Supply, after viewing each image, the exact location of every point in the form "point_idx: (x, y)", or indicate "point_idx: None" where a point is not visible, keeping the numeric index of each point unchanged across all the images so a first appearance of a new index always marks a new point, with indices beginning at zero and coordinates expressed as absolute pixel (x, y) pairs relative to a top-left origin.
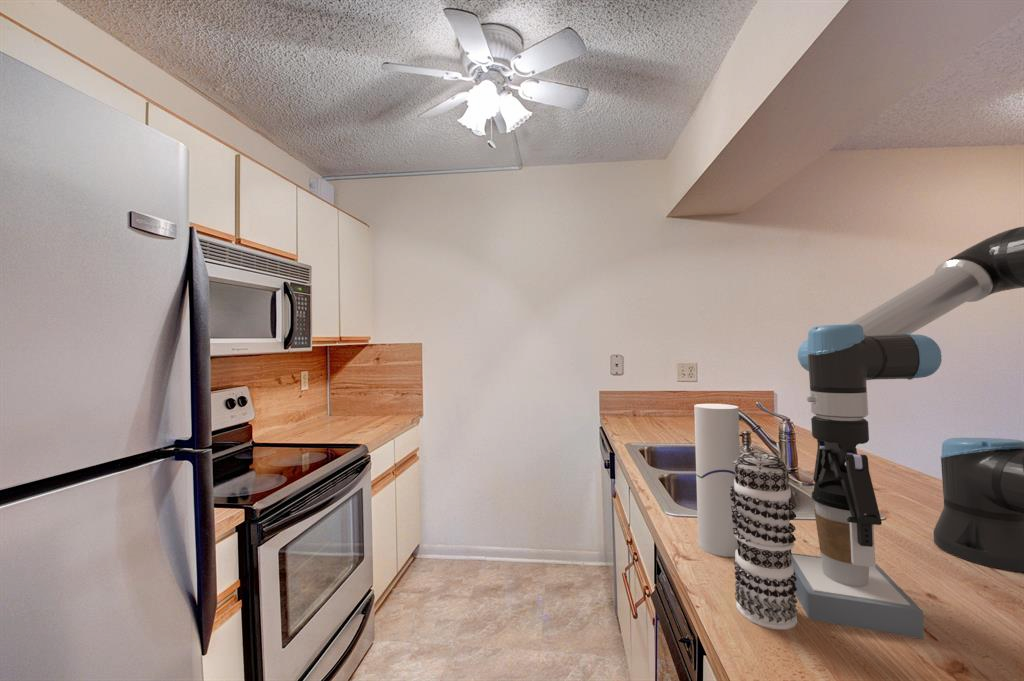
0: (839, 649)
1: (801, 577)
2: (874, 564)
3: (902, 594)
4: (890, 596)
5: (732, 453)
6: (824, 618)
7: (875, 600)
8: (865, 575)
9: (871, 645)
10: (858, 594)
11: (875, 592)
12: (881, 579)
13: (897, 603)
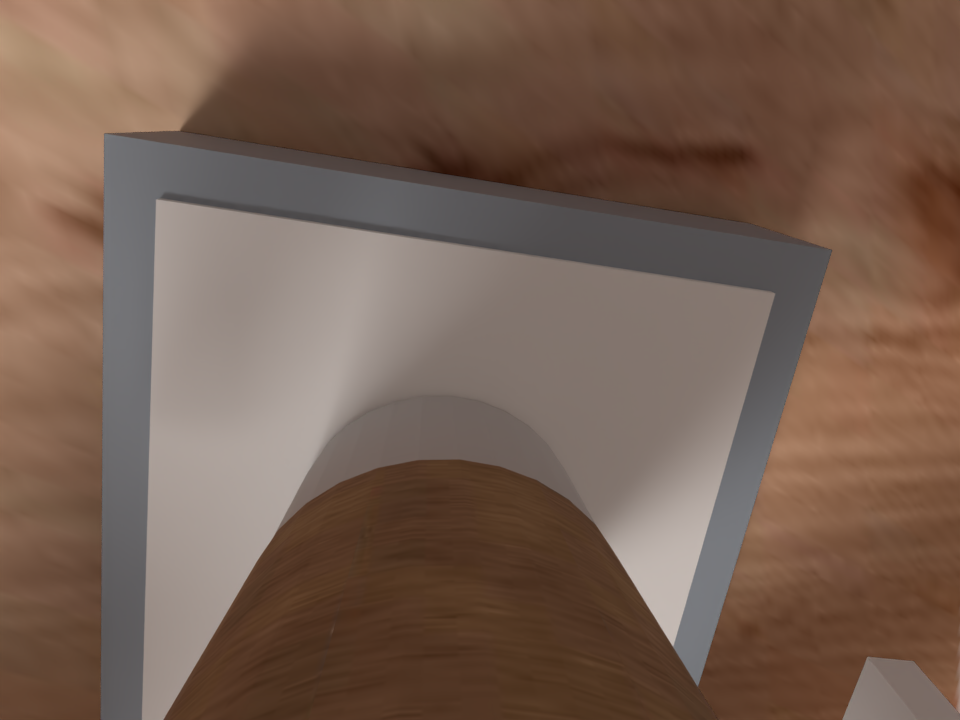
0: (831, 643)
1: None
2: (928, 688)
3: (627, 249)
4: (684, 366)
5: None
6: None
7: (721, 477)
8: (577, 493)
9: (803, 505)
10: (672, 550)
11: (639, 435)
12: (430, 279)
13: (754, 364)
